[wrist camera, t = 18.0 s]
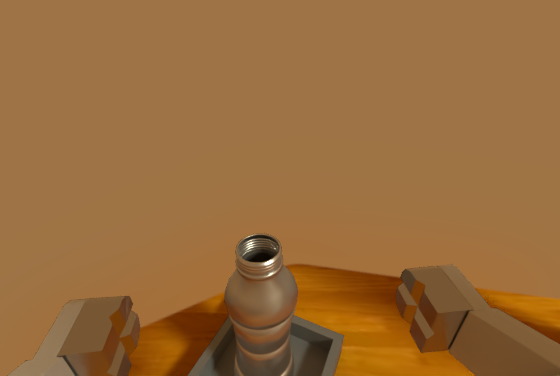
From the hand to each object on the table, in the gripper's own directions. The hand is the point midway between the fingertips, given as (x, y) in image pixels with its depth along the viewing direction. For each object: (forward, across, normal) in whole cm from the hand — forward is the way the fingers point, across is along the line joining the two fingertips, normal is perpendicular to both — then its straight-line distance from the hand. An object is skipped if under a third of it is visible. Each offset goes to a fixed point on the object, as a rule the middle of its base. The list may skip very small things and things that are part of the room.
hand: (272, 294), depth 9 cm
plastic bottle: (+12, 0, +29) cm, 32 cm away
